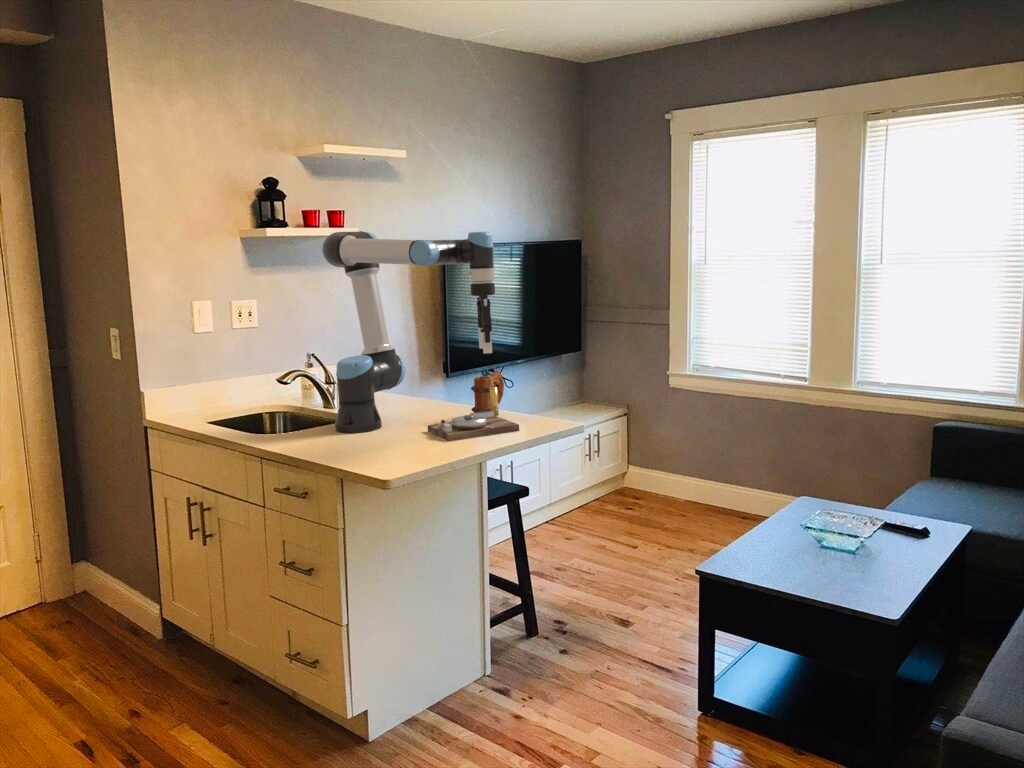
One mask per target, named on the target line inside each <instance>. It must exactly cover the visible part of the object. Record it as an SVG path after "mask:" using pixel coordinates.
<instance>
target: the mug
mask: <svg viewBox="0 0 1024 768" xmlns="http://www.w3.org/2000/svg"><path fill="white" fill-rule="evenodd" d="M490 387H497V394H498V405H499V404H500V403H501V401H502V398H503V395H504V391H505V390H504V389H505V388H504V387H505V383H504V378H503V376H502V375H501V373H500V372H497V371H492V373H491V374H490V375H489V376H488V375H487V376H485V375H483V376H476V377H474V379H473V386H471V387H470V389H471V391H473V394H474V406H473V407H472V408H471V412H472V413H475V412H482V411H489V410H491V407H490ZM498 410H499V407H498Z"/></svg>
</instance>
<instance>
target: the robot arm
mask: <svg viewBox="0 0 1024 768" xmlns="http://www.w3.org/2000/svg"><path fill="white" fill-rule="evenodd" d="M493 241H494V240H493V234H492V233H491V232H490V231H473V232H469V233H468V235H467V238H464V239H437V240H436V239H434V240H433V239H431V240H430V239H393V238H392V239H389V238H388V239H387V238H386V239H385V238H379V237H377V236H376V235H374V233H371V232H367V231H362V230H359V231H336V232H332V233H331V234H329V235H328V236H327V237H326V238H325V240H324V241H323V243H322V249H321V250H322V254H323V258H324V259H325V261H326V262H327V263H328V264H329V265H331V266H332V267H336V268H344V272H345V273H344V274H345V276H347V277H348V278H350V281H351V284H352V285H351V286H352V291H353V296H354V302H355V307H356V312H357V316H358V317H357V318H358V322H359V327H360V332H361V338H362V344H363V351H362V352H361V353H360V355H354V356H348V357H344V358H341V359H340V360H339V361H338V362H337V364H336V372H335V377H336V384H337V397H338V411H337V413H336V417H335V422H334V427H335V428H334V429H335V431H336V432H337V433H338V432H339V433H344V434H345V433H348V434H352V433H353V434H355V433H364V432H365V433H366V432H372V431H375V430H378V429H380V428H382V426H383V425H382V423H383V422H382V419H381V416H380V414H379V411H378V408H377V406H376V402H375V401H376V400H375V393H377V392H382V391H387V390H392V389H393V388H395V387H398V386H399V385H400V384H401V383H402V382H403V381H404V378H405V375H406V364H405V362H404V360H403V358H401V356H400V355H398V354H397V351H396V348H395V347H394V346H393V345H391V343H390V340H389V335H388V328H387V324H386V319H385V312H384V308H383V302H382V298H381V297H382V296H381V293H380V288H379V282H378V277H377V276H378V275H377V274H378V272H379V271H380V269H381V268H380V264H382V265H383V264H388V265H389V264H390V265H391V264H392V265H411V266H413V265H415V266H420V267H430V266H441V265H443V266H444V265H449V266H450V265H462V264H465V265H466V264H468V265H469V271H468V273H467V275H468V276H470V277H469V278H470V282H472V283H471V284H470V295H471V296H472V297H476V300H477V301H476V308H477V326H478V329H477V330H478V346H479V347H478V349H482V351H483V352H482V353H483V354H492V353H493V341H492V339H493V338H492V330H493V326H492V315H491V299H490V298H488V296H493V295H495V294H496V287H495V286H496V284H495V282H494V281H496V280H495V279H496V278H495V267H494V242H493Z"/></svg>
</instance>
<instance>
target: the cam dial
mask: <svg viewBox="0 0 1024 768" xmlns="http://www.w3.org/2000/svg"><path fill="white" fill-rule="evenodd" d="M490 407H491V410H489V411H482V412H475V413H474V412H470V413H469V414H466V415H465V414H464V415H460V416H456V417H453V418H452V419H451V421H450V422H451V423H452V427H453V428H457V429H475V428H481V427H484V426H486V425H487V420H486V417H492V416H497V417H500V416H499V415H500V413H499V412H500V411H499V409H498V408H499V404H498V394H497V387H490Z"/></svg>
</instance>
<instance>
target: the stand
mask: <svg viewBox="0 0 1024 768" xmlns="http://www.w3.org/2000/svg"><path fill="white" fill-rule="evenodd" d="M486 420H487V425H486V426H484V427H481V428H475V429H457V428H453V427H452V423H451V421H449V422H446V420H445V419H442V420H441V421H438V422H437V423H434V424H433V423H432V424H427V432H428V433H430V432H431V434H433V435H435V436H438V437H440V438H442V439H444V440H446V441H447V442H453V441H459V440H460V441H461V440H466V439H472V438H480V437H486V436H492V435H499V434H505V433H506V434H507V433H513V432H514V433H515V432H519V431H520V424H519V423H516V422H514V421H510V420H507V419H506V418H502V417H500V416H492V417H486Z"/></svg>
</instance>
